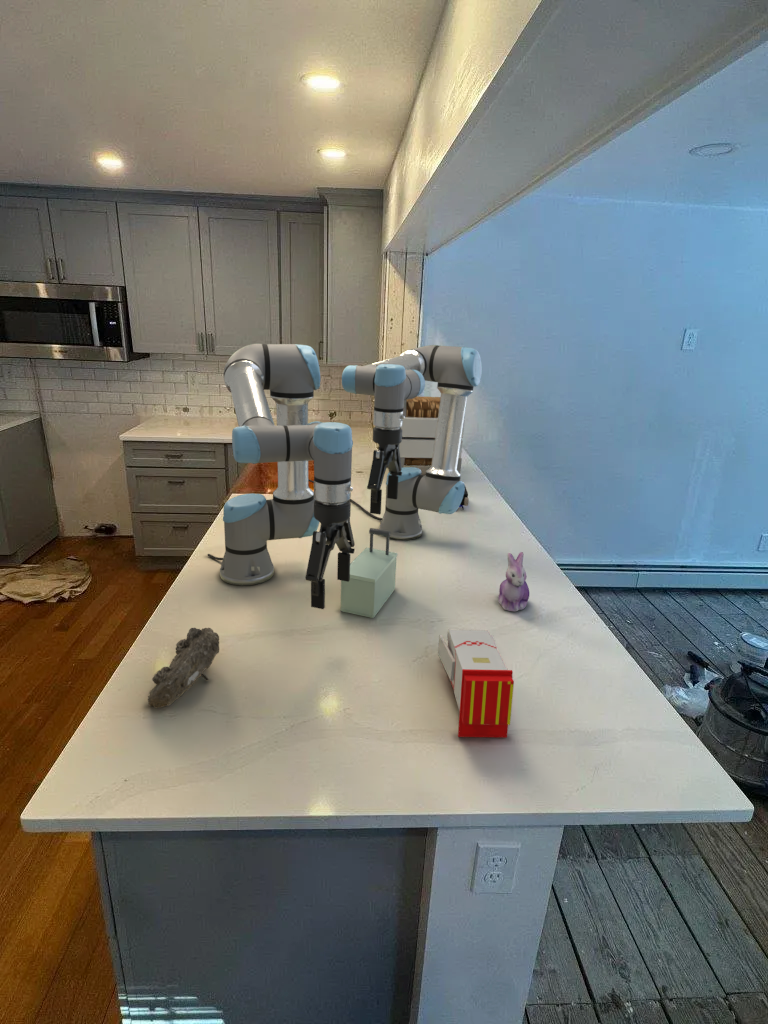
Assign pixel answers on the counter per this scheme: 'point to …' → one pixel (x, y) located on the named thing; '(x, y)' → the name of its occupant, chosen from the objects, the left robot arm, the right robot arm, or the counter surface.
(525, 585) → the figurine
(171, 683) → the fossil
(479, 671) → the toy
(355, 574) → the lid
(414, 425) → the light grey boxy piece
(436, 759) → the counter surface
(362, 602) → the chest
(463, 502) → the figurine character
